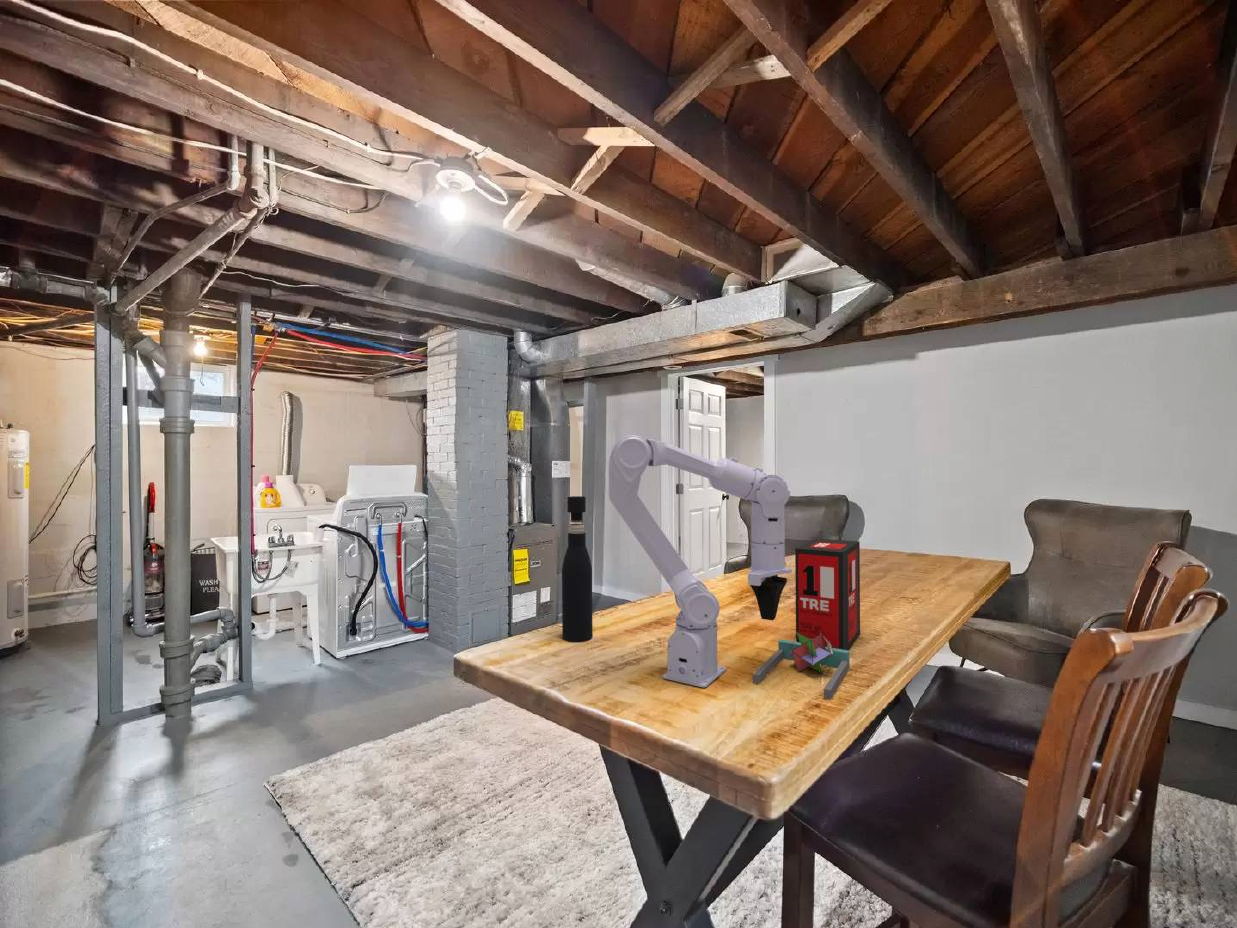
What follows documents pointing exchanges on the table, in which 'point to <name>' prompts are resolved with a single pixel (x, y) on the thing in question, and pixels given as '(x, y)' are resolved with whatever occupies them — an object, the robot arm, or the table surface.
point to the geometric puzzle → (810, 652)
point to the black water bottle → (576, 578)
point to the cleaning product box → (828, 591)
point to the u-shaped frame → (837, 660)
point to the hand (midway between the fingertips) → (768, 618)
